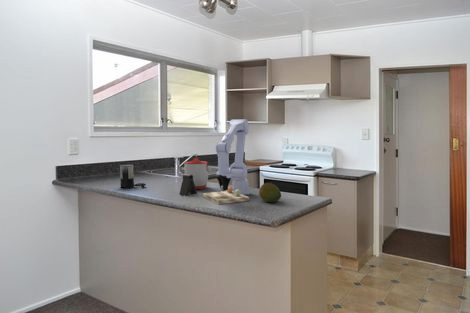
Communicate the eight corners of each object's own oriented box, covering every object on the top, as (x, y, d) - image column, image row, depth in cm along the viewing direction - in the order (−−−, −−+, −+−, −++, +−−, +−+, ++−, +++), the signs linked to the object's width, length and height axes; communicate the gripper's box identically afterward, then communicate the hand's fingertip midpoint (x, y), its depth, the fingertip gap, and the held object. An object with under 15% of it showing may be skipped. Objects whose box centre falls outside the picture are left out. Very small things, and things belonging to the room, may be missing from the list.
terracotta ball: (231, 191, 216) (231, 185, 216) (233, 192, 213) (233, 186, 212) (225, 192, 214) (225, 186, 214) (228, 193, 211) (228, 187, 211)
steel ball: (225, 190, 202) (225, 184, 202) (227, 191, 199) (228, 185, 198) (219, 190, 201) (219, 184, 200) (222, 192, 197) (222, 186, 197)
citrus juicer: (210, 190, 232) (209, 158, 230) (182, 190, 233) (182, 158, 231) (212, 185, 248) (211, 156, 246) (186, 186, 248) (185, 156, 246)
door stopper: (185, 196, 215) (185, 175, 214) (179, 194, 219) (178, 174, 218) (197, 193, 222) (196, 173, 221) (190, 192, 226) (190, 173, 225)
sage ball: (239, 194, 206) (239, 188, 206) (242, 196, 203) (242, 189, 203) (233, 195, 204) (233, 189, 204) (236, 196, 201) (236, 190, 201)
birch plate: (231, 193, 220) (231, 190, 220) (248, 200, 200) (248, 197, 200) (203, 196, 212) (203, 193, 212) (218, 204, 192) (218, 200, 192)
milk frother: (119, 186, 250) (118, 165, 249) (142, 184, 257) (142, 163, 255) (122, 190, 237) (121, 167, 236) (147, 188, 244) (146, 165, 242)
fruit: (267, 198, 205) (267, 180, 204) (286, 201, 197) (286, 182, 196) (254, 202, 196) (254, 183, 195) (274, 205, 188) (274, 186, 187)
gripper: (211, 163, 203) (212, 188, 204) (222, 166, 190) (222, 192, 191) (223, 163, 206) (223, 187, 207) (234, 165, 193) (234, 191, 194)
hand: (223, 189), depth 200 cm, fingers closed on steel ball, 3 cm apart
